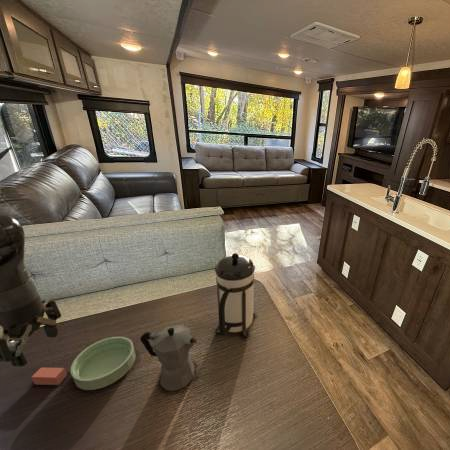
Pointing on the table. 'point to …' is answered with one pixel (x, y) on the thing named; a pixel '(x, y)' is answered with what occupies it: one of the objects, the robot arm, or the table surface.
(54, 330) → the robot arm
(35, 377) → the eraser
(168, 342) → the coffeepot
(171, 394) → the table surface
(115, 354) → the bowl
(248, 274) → the coffee press
